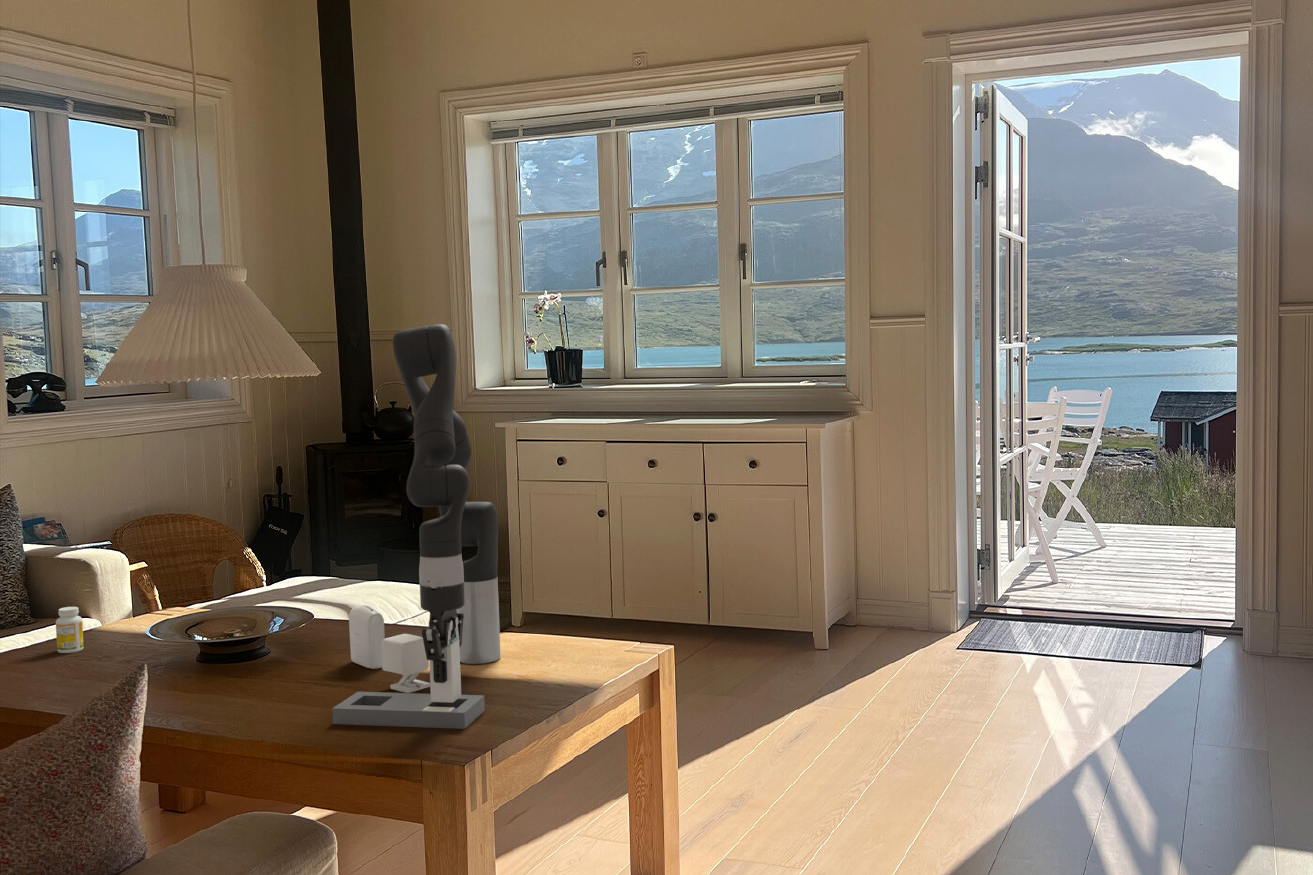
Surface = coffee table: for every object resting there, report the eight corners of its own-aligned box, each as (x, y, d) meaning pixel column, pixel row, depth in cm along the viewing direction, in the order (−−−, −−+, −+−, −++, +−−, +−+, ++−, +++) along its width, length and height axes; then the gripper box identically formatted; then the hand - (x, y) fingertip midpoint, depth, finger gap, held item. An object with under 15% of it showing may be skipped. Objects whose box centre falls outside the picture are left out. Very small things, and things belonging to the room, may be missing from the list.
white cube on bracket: (409, 683, 224) (407, 632, 224) (432, 688, 220) (430, 637, 219) (383, 690, 219) (380, 639, 219) (406, 696, 215) (404, 644, 214)
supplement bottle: (67, 654, 255) (64, 611, 254) (52, 652, 257) (49, 609, 256) (89, 648, 259) (86, 606, 259) (73, 646, 262) (71, 605, 261)
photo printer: (348, 661, 242) (345, 603, 241) (367, 657, 245) (364, 600, 244) (369, 671, 234) (366, 611, 233) (388, 667, 237) (386, 608, 236)
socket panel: (358, 709, 208) (357, 690, 207) (484, 713, 203) (484, 694, 203) (333, 727, 198) (332, 707, 198) (465, 732, 193) (464, 711, 193)
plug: (439, 695, 201) (437, 635, 201) (461, 695, 200) (459, 636, 200) (431, 701, 197) (428, 641, 197) (453, 702, 197) (450, 641, 196)
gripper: (436, 572, 205) (440, 667, 206) (404, 588, 191) (408, 689, 192) (476, 573, 204) (480, 668, 205) (447, 589, 190) (451, 690, 191)
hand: (445, 678), depth 199 cm, fingers closed on plug, 4 cm apart
